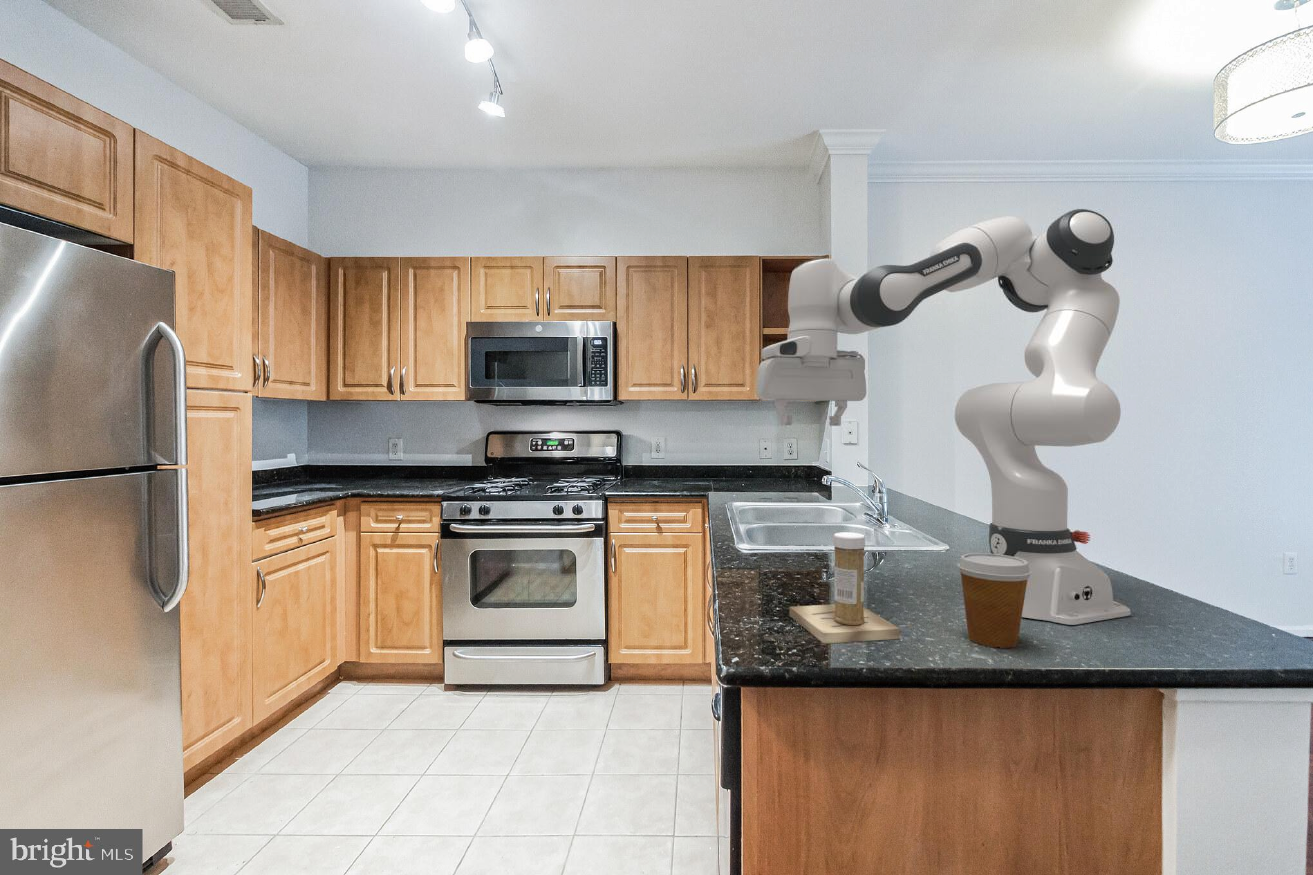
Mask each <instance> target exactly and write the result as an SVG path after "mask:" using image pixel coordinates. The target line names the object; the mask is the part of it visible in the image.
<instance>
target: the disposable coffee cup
mask: <svg viewBox="0 0 1313 875" xmlns="http://www.w3.org/2000/svg"><path fill="white" fill-rule="evenodd" d="M956 566H957V568H958V570H959V572H960V578H961V584H962V594H963V602H964V610H965V618H966V625H967V626H966V628H967V636H968V639H969V640H971V641H972V642H974V643H976V644H978V643H979V645H981V644H982V645H983V646H985V645H986V647H989V648H997V647H1000V648H999V649H1008V648H1009V647H1011V648H1014V647H1017V646H1018V643H1019V642H1018V641H1019V635H1020V634H1019V633H1020V629H1021V628H1020V627H1021V623H1022V618H1023V617H1022V611H1023V605H1024V598H1025V593H1026V586H1027V580H1028V579H1029V576H1030V575H1031V573H1032V571H1031V570H1030V569H1029V566H1028V562H1027V561H1025V560H1023V559H1020V558H1016V557H1012V556H1006V555H999V554H991V553H987V552H986V553H984V552H983V553H982V552H979V553H978V552H973V553H972V552H971V553H965V554H961V556H960V559H959V562H958V563H957V565H956ZM1016 645H1017V646H1016ZM1006 647H1007V648H1006ZM1009 649H1010V648H1009Z"/></svg>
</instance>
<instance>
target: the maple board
mask: <svg viewBox="0 0 1313 875" xmlns="http://www.w3.org/2000/svg"><path fill="white" fill-rule="evenodd" d="M788 613H789V614H788V615H789V617H791V619H793V620H794V621H795V622H796V623H797V624H799V625H800V626H801V627H803V629H806V631H807V632H809V633H810V634H811V635H813V636H814V637H815V638H816V639H817V640H819V642H821V643H822V644H838V643H839V644H840V643H853V642H869V641H870V642H871V641H884V640H898V639H899V640H900V639H901V629H900V627H898V626H896V625H894V624H893V623H892V622H889V621H888V620H886V619H884V618H883V617H881V616H879V615H878V614H876V613H875V612H873V611H871V610H869V609H867V607H864V619H865V620H864V623H862V624H860V625H846V624H841V623H839V622H837V621H835V619H834V615H835V603H834V604H819V605H818V604H817V605H814V604H813V605H799V606H795V605H794V606H789V612H788Z"/></svg>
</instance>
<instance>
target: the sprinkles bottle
mask: <svg viewBox="0 0 1313 875" xmlns="http://www.w3.org/2000/svg"><path fill="white" fill-rule="evenodd" d="M833 546H834V548H833V549H834V566H833V568H834V569H833V570H834V572H833V574H834V575H833V576H834V578H833V579H834V580H833V582H834V586H833V587H834V592H833V593H834V594H833V595H834V604H835V615H834V619H835V621H837V622H839V623H841V624H846V625H860V624H862V623H864V620H865V619H864V608H865V606H864V604H865V580H864V579H865V577H864V576H865V575H864V574H865V573H864V569H865V566H864V565H865V558H864V557H865V556H864V553H865V552H864V551H865V548H866V537H865V535H864V534H862V533H858V532H849V531H848V532H847V531H844V532H836V533H834V534H833Z"/></svg>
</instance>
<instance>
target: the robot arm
mask: <svg viewBox="0 0 1313 875" xmlns="http://www.w3.org/2000/svg"><path fill="white" fill-rule="evenodd" d="M1114 245H1115V234H1114V229H1113V227H1112V225H1111V223H1110V221H1109V220H1108V219H1107V218H1106V217H1105V216H1104V215H1102V214H1101V213H1098V212H1097V211H1094V210H1091V209H1085V208H1077V209H1072V210H1069V211H1068V212H1066V213H1063V215H1061V216H1059V217H1058V218H1057V219H1055V220H1053V222H1052V223H1050V225H1049V226H1048V228H1047V230H1044V232H1043V233H1042V234H1040V236H1038V235H1035V234H1033V232H1032V230H1031V228H1030V226H1029V225H1028V223H1027V222H1026V221H1024V219H1021V218H1020V217H1017V216H1012V215H1006V216H1000V217H994V218H990V219H987V220H984V221H981V222H980V221H979V222H977V223H973V224H972V225H969V226H967V227H964V228H962V229H960V230H958V231H956V232H953V233H952V234H950V235H948V236H947V237H946V238H943V239H942V240H941V241H939V242H938V243H936V244H935V245H933V247H932V248H931V250H930V251H931V252H930V253H929V254H930V255H929V256H928V257H926V258H924V259H922V260H919V261H917V262H915V263H912V264H909V265H908V264H907V265H898V264H897V265H896V264H884V265H879V266H877V267H873V268H872V269H870V270H869V271H867V272H866V273H864V274H862V275H861V276H859V277H856V276H854V275H853V274H850V273H848V272H847V271H845V270H844V269H843V268H841V266H839V265H838V264H837V262H836V261H835V259H834V258H831V257H820V258H819V257H817V258H813V259H810V260H806V261H804V262H801V263H800V264H798V265H797V266H796V267H795V268H794V269H793V270H792V272H791V274H790V279H789V285H788V295H787V296H788V297H787V298H788V299H787V311H788V315H789V326H788V329H787V339H785V340H781V341H778V342H777V343H773V344H771V345H768V346H766V347H764V348H762V349H761V358H762V359H763V360H762V361H761V362H760V363H759V365H758V368H757V374H756V380H755V381H756V382H755V394H756V396H757V397H758V399H759V400H773V401H774V406H775V408H776V410H777V412H778V413H779V415H780V425H781V426H792V424H793V421H792V420H793V415H789V414H788V412H787V410H786V408H785V407H786V406H787V403H788V401H819V402H821V401H824V402H828V401H829V402H834V408H836V410H835V412H834V414H833V415H830V416H829V417H828V419H829V422H828V423H829V424H828V425H829V426H830V427H831V426H832V427H840V426H841V424H842V416H843V415H844V413H845V411H846V410H847V408H848V402H863V400H864V399H865V398H866V396H867V380H866V375H865V374H866V373H865V370H866V359H865V357H864V356H863V355H862V354H861V353H859V352H858V351H855V350H850V351H849V350H840V349H839V350H838V333H841V334H845V335H846V334H847V335H859V334H862V333H863V334H864V333H867V332H869V331H873V330H877V329H880V328H885V327H892V326H896V325H898V324H899V323H902V322H904V320H906V319H908V318H909V316H910V315H911V314H912V313H913V311H915V310H916V308H917V307H918V306H919V305H920V304H921V303H922V302H923V301H924V300H926V299H927V298H930V297H931V296H934V295H936V294H938V293H942V292H943V291H946V292H948V293H956V292H961V291H965V290H968V289H973V288H975V287H979V286H980V285H982V284H983V285H984V284H985V283H988V282H989V281H991V280H994V279H996V278H997V282H998V286H999V288H1000V289H1001V290H1002V292H1003V294H1004V296H1005V298H1006V299H1007V300H1008V301H1009V302H1010V304H1012V305H1013V306H1014V307H1015V308H1017V309H1019V310H1021V311H1024V312H1026V313H1040V312H1042V311H1044V310H1046V312H1045V313H1044V315H1043V317H1042V318H1041V320H1040V322H1039V324H1038V325H1037V327H1036V329H1035V330H1034V333H1033V334H1032V336H1031V339H1030V340H1029V342H1028V344H1027V345H1026V347H1025V349H1024V362H1025V366H1026V367H1027V369H1028V371H1029V372H1030V373H1031V374H1032V375H1033V376H1035V377H1036V378H1035V379H1033V380H1029V381H1028V380H1027V381H1017V382H1016V381H1014V382H999V383H998V382H997V383H989V384H986V385H982V386H978V387H974V388H971V389H968V390H965V392H963V393H962V394H961V396H960V398H959V399H958V400H957V402H956V405H955V407H954V408H955V409H954V420H955V424H956V427H957V428H958V431H959V432H960V434H961V435H962V436H963V437H964V438H966V439H967V440H968V441H969V442H970V443H971V444H972V445H973V446H974V447H975V448H976V449H977V450H978V452H979V454H980V456H981V457H982V459H983V462H984V463H985V466H986V469H987V472H988V475H989V479H990V486H991V487H990V489H991V509H992V513H991V514H992V515H991V517H992V518H991V519H992V520H991V523H989V527H988V528H989V530H988V544H989V550H990V551H989V552H990V554H999V555H1006V556H1012V557H1016V558H1020V559H1023V560H1025V561H1027V562H1028V566H1029V569H1030V570H1031V571H1032V573H1031V575H1030V576H1029V579H1028V580H1027V586H1026V593H1025V598H1024V605H1023V611H1022V618H1028V619H1034V620H1040V621H1041V620H1042V621H1048V622H1052V623H1058V624H1062V625H1067V626H1070V625H1071V626H1073V625H1074V626H1075V625H1082V624H1087V623H1092V622H1094V623H1095V622H1097V621H1105V620H1110V619H1116V618H1122V617H1128V616H1131V614H1132V613H1131V609H1130V608H1129V607H1128V606H1126V605H1125V604H1123V603H1120V602H1118V601H1115V600H1114V596H1113V587H1112V586H1113V585H1112V583H1111V579H1110V577H1109V576H1108V574H1107V573H1105V571H1103V570H1102V569H1101V568H1099V567H1097V566H1096V565H1095V564H1094V563H1092V562H1091V561H1090V560H1089V559H1088V558H1086V557H1085V556H1083V555H1082V554H1081V553H1080V552H1079V551H1078V550H1077V549H1078V548H1077V546H1076V543H1080V544H1084V545H1086V544H1088V543H1089V542H1091V535H1090V533H1089V532H1088V531H1080V530H1079V529H1078V530H1077V529H1076V530H1074V531H1071V530H1070V529H1069V528H1068V506H1069V505H1068V504H1069V502H1068V499H1069V498H1068V497H1069V496H1068V494H1069V490H1068V489H1069V488H1068V485H1067V483H1066V482H1065V479H1064V478H1063V477H1062V476H1061V475H1060V474H1058V473H1057V472H1055V471H1054V470H1052V469H1050V468H1048V467H1047V466H1045V465H1044V464H1043V463H1042V461H1041V460H1040V458H1039V457H1038V454H1037V451H1036V446H1041V447H1044V446H1045V447H1065V448H1066V447H1077V446H1084V445H1090V444H1095V443H1101V442H1104V441H1106V440H1107V439H1108V438H1110V437H1111V436H1112V434H1113V433H1114V432H1115V431H1116V428H1117V427H1118V425H1119V422H1120V419H1121V415H1122V414H1121V410H1122V409H1121V404H1120V401H1119V398H1118V396H1117V395H1116V393H1115V392H1114V390H1112V388H1111V387H1110V386H1109V385H1107V384H1106V383H1104V382H1102V381H1100V380H1099V379H1098V378H1097V376H1096V375H1097V374H1096V371H1097V367H1098V364H1099V361H1100V359H1101V357H1102V355H1103V352H1104V350H1105V348H1106V347H1107V343H1108V342H1109V340H1110V337H1111V335H1112V333H1113V331H1114V329H1115V326H1116V325H1115V324H1116V322H1117V318H1118V314H1119V310H1120V304H1121V302H1120V301H1121V300H1120V296H1119V293H1118V290H1116V288H1115V287H1114V286H1113V285H1112V284H1110V283H1109V282H1107V281H1105V280H1104V279H1103V277H1102V273H1105V272H1106V271H1107V270H1109V269H1110V268H1111V267H1112V265H1113V262H1114V260H1113V255H1112V252H1113V248H1114ZM1075 542H1076V543H1075Z"/></svg>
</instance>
